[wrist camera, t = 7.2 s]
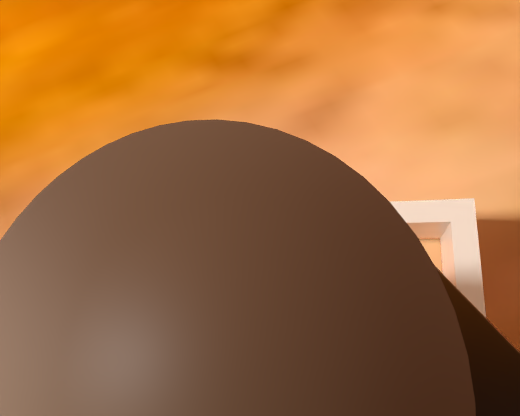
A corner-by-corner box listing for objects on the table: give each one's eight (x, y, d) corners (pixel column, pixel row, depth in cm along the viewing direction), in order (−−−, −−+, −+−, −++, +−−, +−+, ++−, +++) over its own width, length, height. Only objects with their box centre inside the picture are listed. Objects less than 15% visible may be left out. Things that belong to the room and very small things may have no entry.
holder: (483, 485, 15) (506, 522, 12) (226, 451, 17) (196, 475, 15) (459, 218, 17) (474, 198, 14) (238, 225, 20) (214, 208, 17)
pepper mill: (361, 435, 14) (243, 990, 2) (253, 357, 15) (-137, 446, 4) (424, 317, 14) (602, 275, 3) (313, 254, 16) (122, 55, 4)
